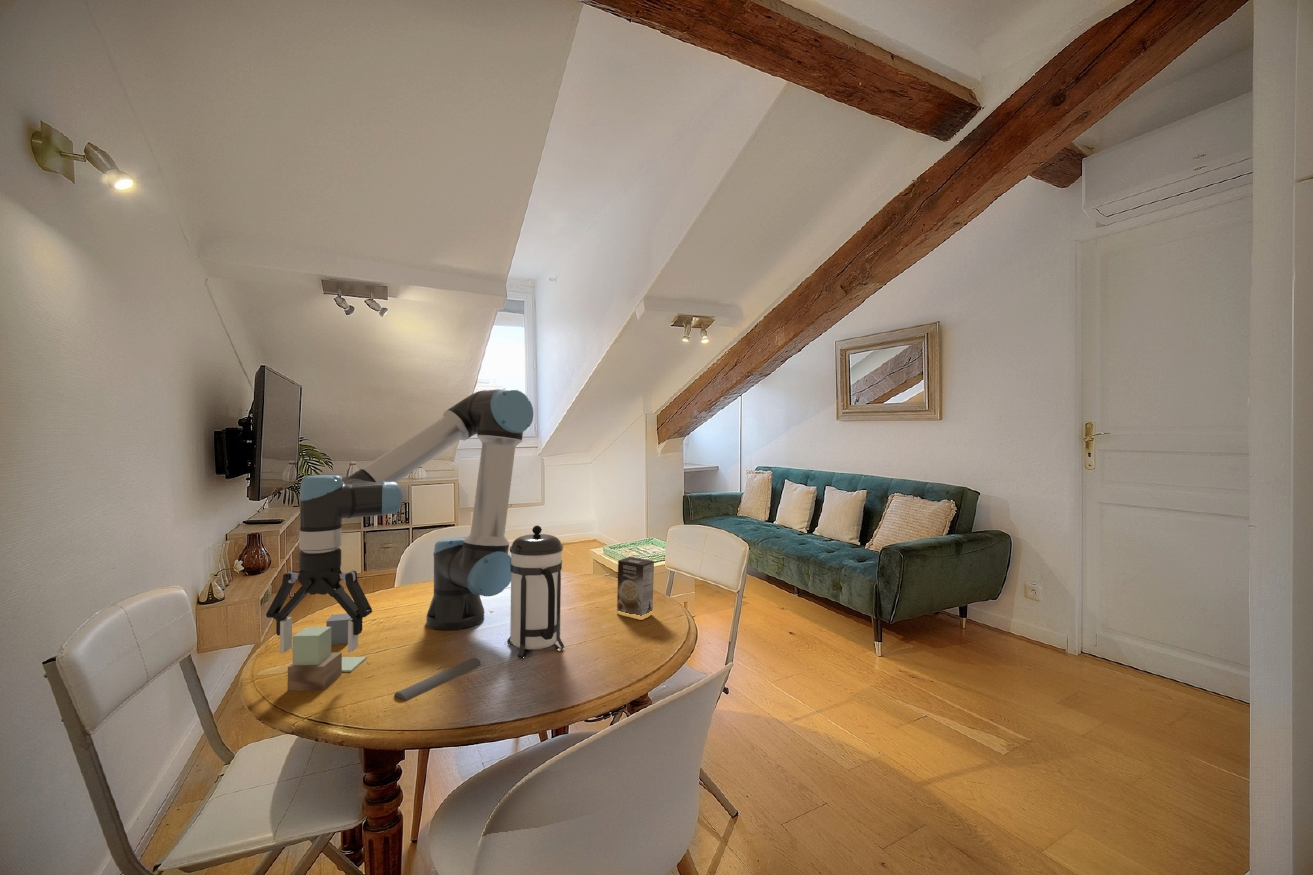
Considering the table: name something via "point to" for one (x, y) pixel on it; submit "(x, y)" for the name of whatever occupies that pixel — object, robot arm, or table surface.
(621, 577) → the coffee box
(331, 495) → the robot arm
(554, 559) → the coffee press
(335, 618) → the gray block
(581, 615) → the table surface
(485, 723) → the table surface
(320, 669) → the walnut base
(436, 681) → the slim gray ramp strip
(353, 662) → the tile
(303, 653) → the sage block
